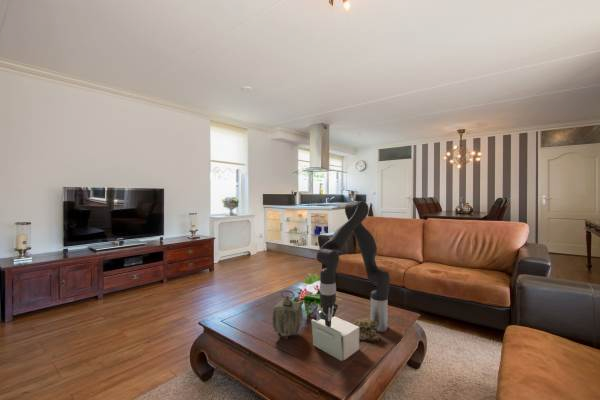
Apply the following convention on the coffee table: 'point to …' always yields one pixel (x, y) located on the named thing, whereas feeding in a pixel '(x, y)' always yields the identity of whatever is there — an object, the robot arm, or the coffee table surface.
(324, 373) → the coffee table surface
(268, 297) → the coffee table surface
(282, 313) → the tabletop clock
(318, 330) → the door
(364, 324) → the mineral specimen
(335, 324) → the case
